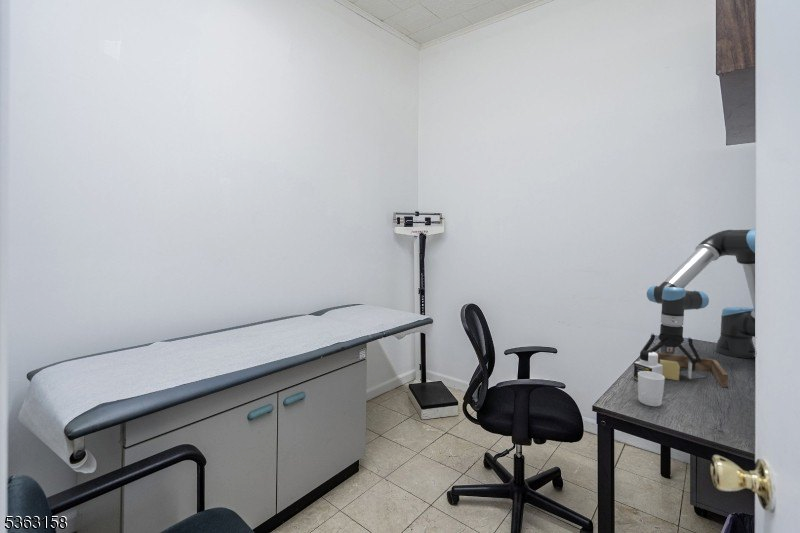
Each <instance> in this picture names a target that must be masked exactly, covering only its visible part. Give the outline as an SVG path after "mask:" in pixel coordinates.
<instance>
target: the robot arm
mask: <svg viewBox="0 0 800 533" xmlns="http://www.w3.org/2000/svg"><path fill="white" fill-rule="evenodd" d="M755 229H756V228H754V229H725V230H721V231H718V232H716V233H713V234H711V235H709V236H708V237H706V238H705V239H704V240H703V241H701V242H700V243H699V244H698V245H697V246H695V249H694V250H695V251H694V252H693V253H692V254H690V256H689V257H687V259H685V261H683V262H682V263H681V264H680V265H679V266H678V267H677V269H675V270H674V271H672V273H671V274H670V275H669V276H668V277H667V278H666V279H665V280H664V281H663V282H662V283H660V284H659V286H658V285H653V286H652V285H651V286H650V287H648V289H647V290H646V297H647V299H648V301H650V302H653V303H655V304H660V305H661V313H660V327H659V328H660V330H659V335H658V334H655V333H651V334H650V338H649V339H648V341H647V342H646V343H645V345H644V346H643V348H642V349H641V350H640V352H641V351H644V350H649V351H653V352H658V350H660V348H661V347H663V346H666V347H673V348H675V349H676V348H678V349H679V350H681V352H682V353H683V354H684V356H687V357H688V358H689V359H690V360H691V361H689V363H688V368H687V371H688V377H687V378H688V379H690V380H692V379H691V373H692V372H693V371H696V369H695V364H696V363H697V362H701V359H700V358H701V357H700V355H699V353H698V352H697V350H696V348H695V346H694V344H693V339H692V338H691V337H683V336H684V334H683V333H684V327H683V326H684V318H685V317H684V316H685V311H686V310H687V311H688V310H689V311H690V310H700V309H701V310H702V309H705V308H706V307H708V306H709V303H710V302H709V301H710V299H709V296H708V295H707V293H706V292H704V291H701V290H685V288H686V287H687V286H688V285H689V284H690V283H691V282H692V281H693V280H694V279H695V278H696V277H697V276H698V275H699V274H700V273H702V271H703V270H705V269H706V268H707V266H709V265H710V263H712V262H716V261H718V259H719V258H720V257H724V256H733V257H735V259H736V262H737V263H738V264H740V265H742V267H743V272H744V275H745V279H746V283H747V287H748V290H749V295H750V299H751V302H752V305H753V307H746V306H745V307H744V306H740V307H739V306H733V307H731V306H729V307H725V308H723V309H722V311H721V316H720V317H721V322H720V335H719V338H718V340H717V342H716V344H715V346H714V351H715V352H716V353H718V354H721V355H724V356H728V357H735V358H739V357H741V359H755V358H754V355H755V349H756V347H755V344H754V341H753V337H754V338H756V337H755ZM657 339H658V340H660V341H659V342H658V343H657V344H655V345H654V346H653V347H651V345H653V343H654V342H655V341H656V340H657ZM684 342H685V343H686V344H688V346H689V348H690V350H691V351H692V354H693V355H694V356H692V355H691V354H690V353H689V352H688V351H687V349H686V348H685V347H684V346H683V345H682V343H684ZM650 347H651V349H649V348H650ZM693 357H696V358H695V359H694V358H693ZM751 357H752V358H751Z"/></svg>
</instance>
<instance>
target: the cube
mask: <svg viewBox="0 0 800 533" xmlns="http://www.w3.org/2000/svg"><path fill="white" fill-rule="evenodd" d="M660 364H661V365H663V374H662V375H663V376H664V377H665V379H668V380H674V381H680V374H679V372H681V371H680V369H681V367H680V366H679V364H678V362H676V361H668V360H661V359H660Z"/></svg>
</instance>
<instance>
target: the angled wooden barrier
mask: <svg viewBox="0 0 800 533" xmlns="http://www.w3.org/2000/svg"><path fill="white" fill-rule="evenodd" d="M656 353H657V354H658V364H660V359H661V360H668V361H676V362H678V364H679V366H680V368H683V369H688V363H689V361H691V360H690V359H689V358H688V357H687V356H686V355H682V354H667V353H660V351H659V352H658V351H656ZM692 357H693V358H694V359H695V358H696V357H695V356H692ZM700 359H701V362H697V363H696V364H695V370H700V371H706V372H711V373H712V375H713V376H714V377H715V379H716V380H717V381H718V383H719V385H720V386H721V387H722V388H728V382H729V374H728V373H727V372H726V371H725V369H724V368H723V367H722V365H721V364H720V363H719V361H718V360H717V359H714V358H707V357H706V358H705V357H700Z"/></svg>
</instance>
